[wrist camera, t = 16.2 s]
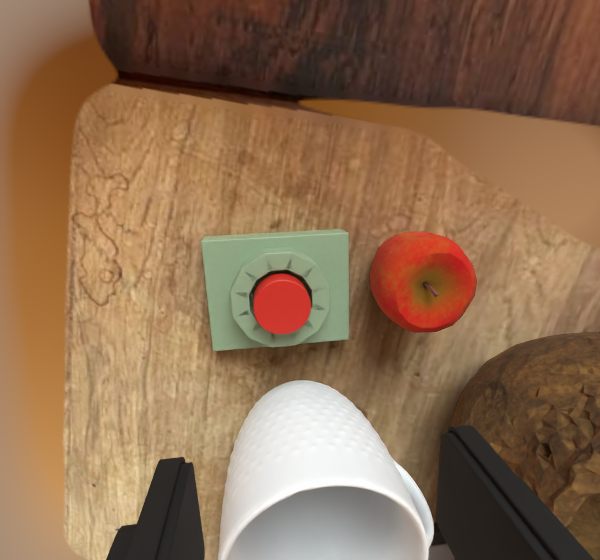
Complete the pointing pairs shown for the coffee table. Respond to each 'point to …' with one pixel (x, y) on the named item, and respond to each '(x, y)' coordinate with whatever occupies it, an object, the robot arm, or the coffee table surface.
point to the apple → (422, 281)
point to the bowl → (545, 423)
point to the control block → (268, 261)
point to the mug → (318, 485)
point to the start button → (281, 304)
